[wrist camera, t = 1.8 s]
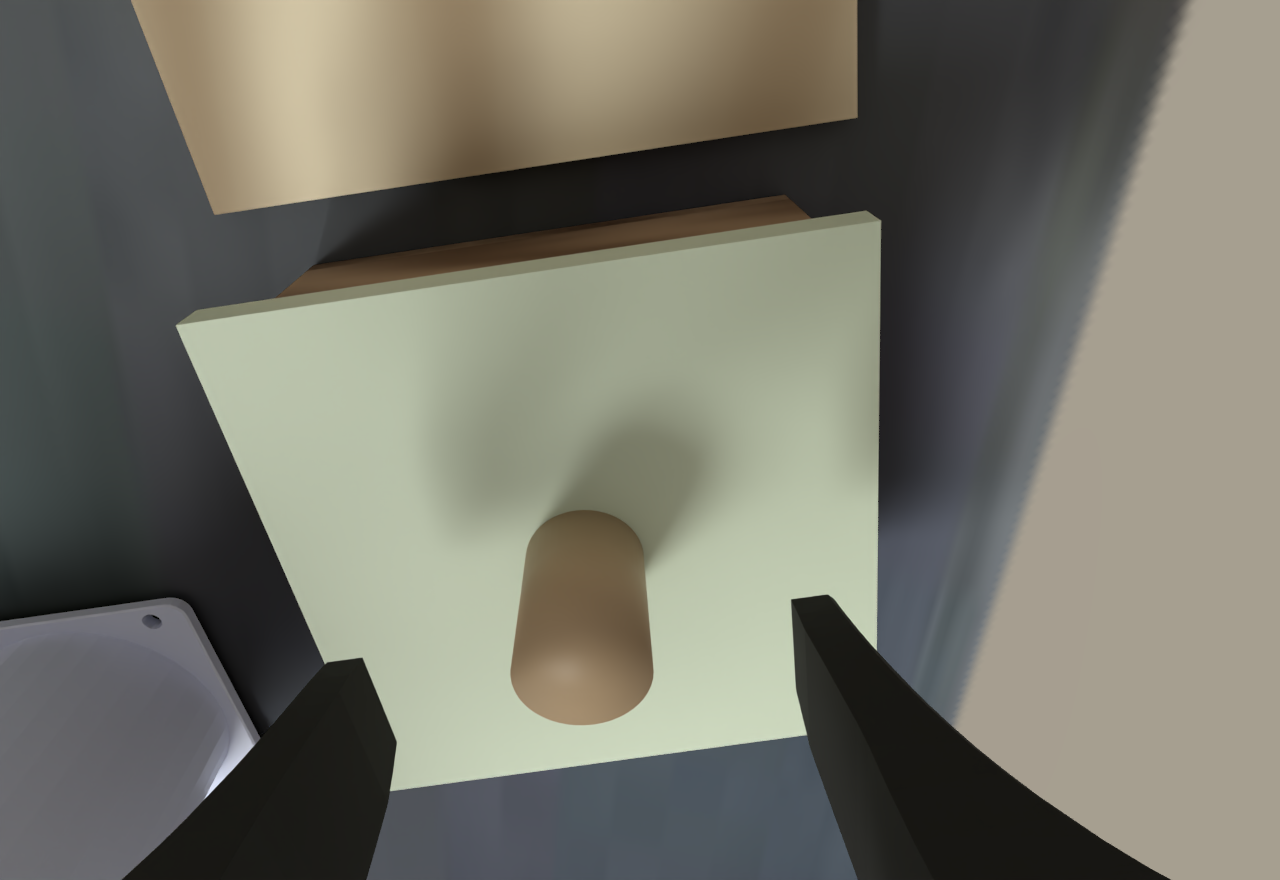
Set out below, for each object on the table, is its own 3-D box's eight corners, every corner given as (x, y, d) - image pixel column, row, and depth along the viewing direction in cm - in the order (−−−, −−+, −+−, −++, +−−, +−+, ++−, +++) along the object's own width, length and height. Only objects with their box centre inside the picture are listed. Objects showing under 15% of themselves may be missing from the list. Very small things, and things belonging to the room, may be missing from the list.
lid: (394, 745, 20) (343, 927, 16) (211, 299, 14) (61, 406, 10) (858, 682, 20) (925, 850, 16) (855, 203, 14) (959, 275, 10)
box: (436, 625, 23) (403, 748, 19) (314, 265, 18) (234, 332, 14) (802, 574, 23) (845, 687, 19) (784, 194, 18) (838, 243, 14)
